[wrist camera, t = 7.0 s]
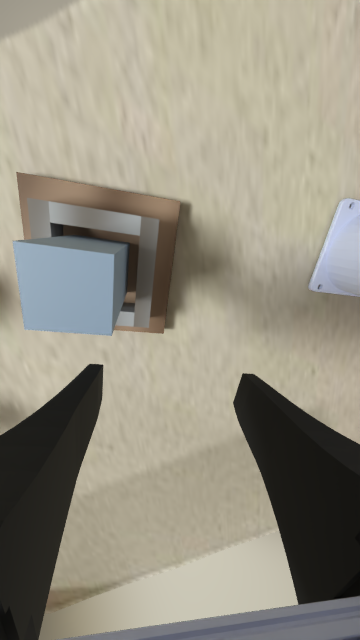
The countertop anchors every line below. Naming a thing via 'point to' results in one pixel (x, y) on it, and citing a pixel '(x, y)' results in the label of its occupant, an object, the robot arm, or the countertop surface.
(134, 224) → the socket board
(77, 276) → the peg
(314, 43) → the countertop surface
